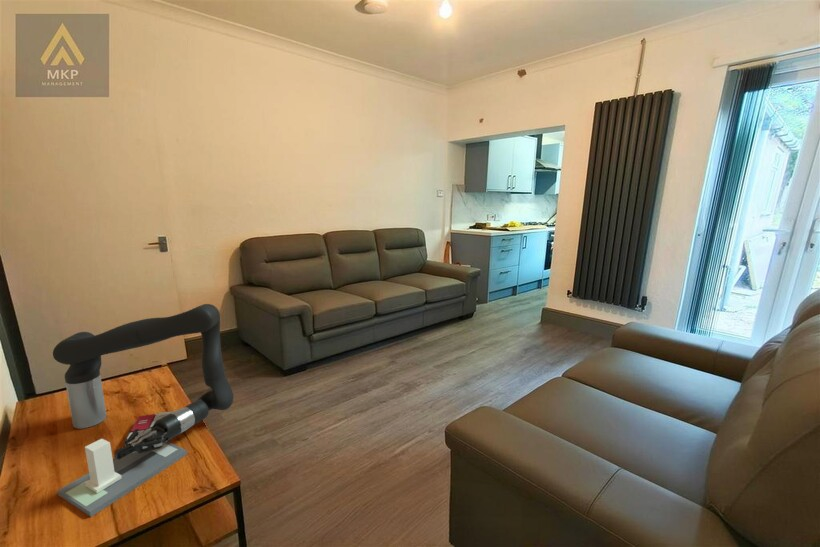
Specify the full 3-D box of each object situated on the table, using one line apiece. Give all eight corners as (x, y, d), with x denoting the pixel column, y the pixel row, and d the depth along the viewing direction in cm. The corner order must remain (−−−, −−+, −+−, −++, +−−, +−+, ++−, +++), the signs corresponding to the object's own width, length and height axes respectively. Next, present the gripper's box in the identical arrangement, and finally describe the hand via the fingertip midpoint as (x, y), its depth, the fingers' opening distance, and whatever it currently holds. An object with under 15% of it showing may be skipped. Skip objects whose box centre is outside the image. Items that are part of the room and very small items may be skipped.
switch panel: (58, 495, 99) (57, 490, 99) (155, 439, 123) (155, 435, 122) (90, 517, 93) (90, 512, 93) (187, 454, 117) (186, 450, 116)
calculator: (173, 409, 135) (164, 431, 121) (174, 420, 135) (165, 443, 122) (138, 415, 130) (123, 438, 117) (139, 426, 131) (125, 450, 117)
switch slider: (84, 485, 101) (78, 448, 98) (109, 471, 106) (103, 435, 104) (97, 493, 98) (90, 454, 96) (121, 478, 104) (116, 441, 101)
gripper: (161, 408, 122) (100, 438, 106) (187, 418, 117) (127, 452, 101) (163, 427, 123) (104, 460, 108) (189, 439, 118) (131, 475, 103)
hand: (115, 456), depth 104 cm, fingers closed
